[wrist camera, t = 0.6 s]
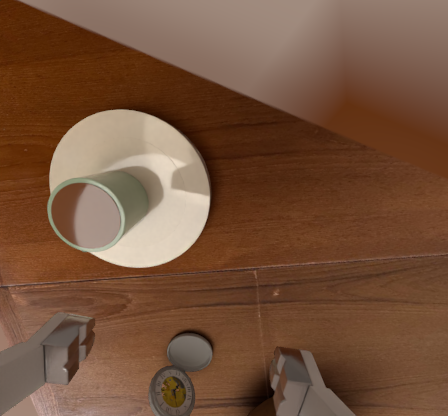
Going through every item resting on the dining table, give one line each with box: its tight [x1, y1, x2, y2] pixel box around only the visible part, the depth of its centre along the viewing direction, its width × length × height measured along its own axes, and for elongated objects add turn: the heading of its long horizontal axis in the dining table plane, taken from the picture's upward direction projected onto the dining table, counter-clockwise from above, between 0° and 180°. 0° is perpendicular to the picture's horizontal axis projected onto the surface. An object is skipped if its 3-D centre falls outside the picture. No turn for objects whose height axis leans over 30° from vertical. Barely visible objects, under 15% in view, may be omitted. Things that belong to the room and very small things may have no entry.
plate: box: [50, 109, 212, 268], centre depth 26 cm, size 18×18×2 cm
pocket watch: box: [149, 333, 212, 416], centre depth 29 cm, size 8×8×10 cm
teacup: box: [48, 170, 149, 252], centre depth 22 cm, size 8×7×6 cm
